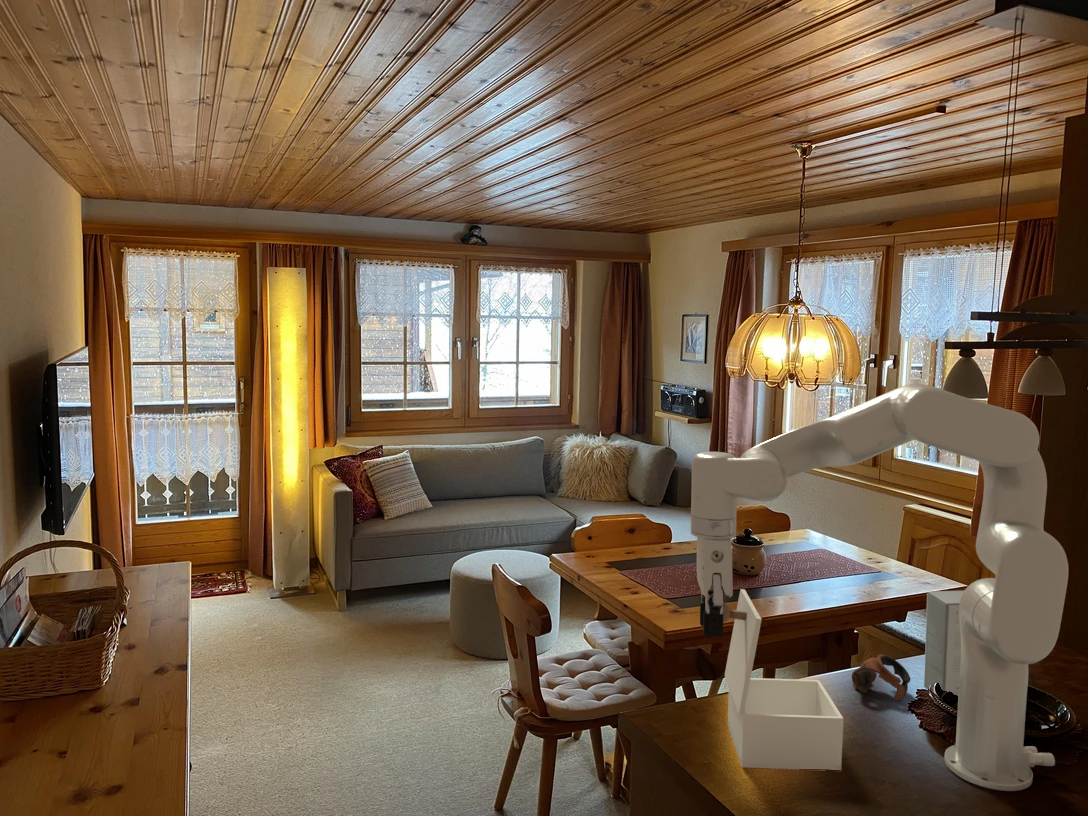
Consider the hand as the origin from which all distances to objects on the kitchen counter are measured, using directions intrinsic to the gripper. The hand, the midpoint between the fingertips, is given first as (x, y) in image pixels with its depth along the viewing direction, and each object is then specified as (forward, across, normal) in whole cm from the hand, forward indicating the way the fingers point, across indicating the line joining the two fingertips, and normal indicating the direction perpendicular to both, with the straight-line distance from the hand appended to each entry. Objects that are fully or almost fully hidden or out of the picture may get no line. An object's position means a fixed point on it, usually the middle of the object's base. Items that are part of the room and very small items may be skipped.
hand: (711, 629), depth 135 cm
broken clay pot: (+21, +22, -36) cm, 47 cm away
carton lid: (+3, 0, -6) cm, 7 cm away
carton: (+21, 0, -12) cm, 24 cm away
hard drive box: (+21, +23, -54) cm, 63 cm away
